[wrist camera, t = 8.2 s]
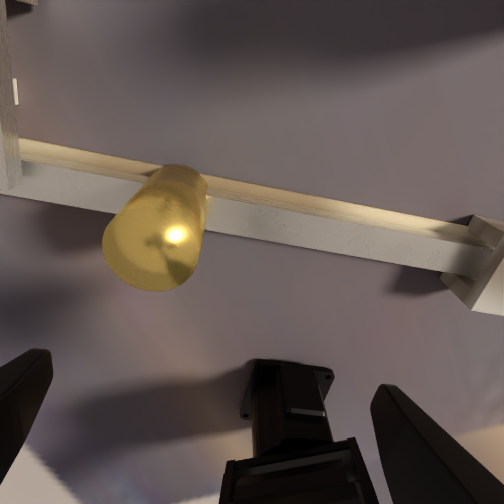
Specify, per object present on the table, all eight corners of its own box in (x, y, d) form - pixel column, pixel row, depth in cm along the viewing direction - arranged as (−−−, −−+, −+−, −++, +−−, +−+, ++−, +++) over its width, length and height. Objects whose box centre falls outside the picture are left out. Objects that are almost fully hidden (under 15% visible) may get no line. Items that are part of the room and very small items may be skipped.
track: (645, 314, 26) (703, 348, 22) (-164, 173, 19) (-247, 193, 15) (695, 259, 23) (767, 288, 20) (-197, 78, 17) (-301, 78, 13)
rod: (531, 289, 24) (634, 364, 18) (-138, 171, 18) (-328, 219, 12) (698, 48, 17) (959, 32, 11) (-267, -243, 12) (-819, -592, 6)
